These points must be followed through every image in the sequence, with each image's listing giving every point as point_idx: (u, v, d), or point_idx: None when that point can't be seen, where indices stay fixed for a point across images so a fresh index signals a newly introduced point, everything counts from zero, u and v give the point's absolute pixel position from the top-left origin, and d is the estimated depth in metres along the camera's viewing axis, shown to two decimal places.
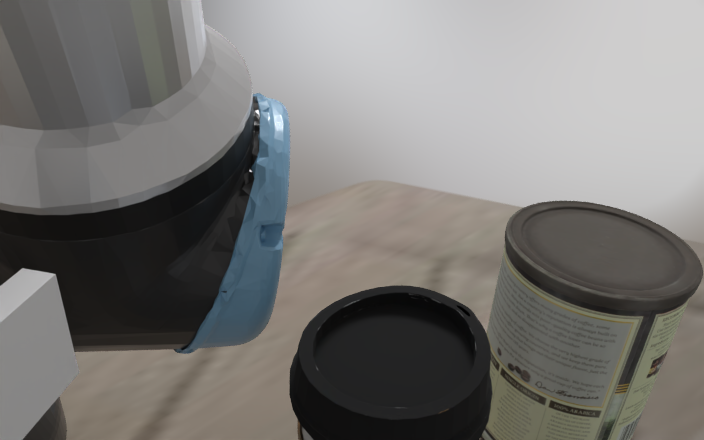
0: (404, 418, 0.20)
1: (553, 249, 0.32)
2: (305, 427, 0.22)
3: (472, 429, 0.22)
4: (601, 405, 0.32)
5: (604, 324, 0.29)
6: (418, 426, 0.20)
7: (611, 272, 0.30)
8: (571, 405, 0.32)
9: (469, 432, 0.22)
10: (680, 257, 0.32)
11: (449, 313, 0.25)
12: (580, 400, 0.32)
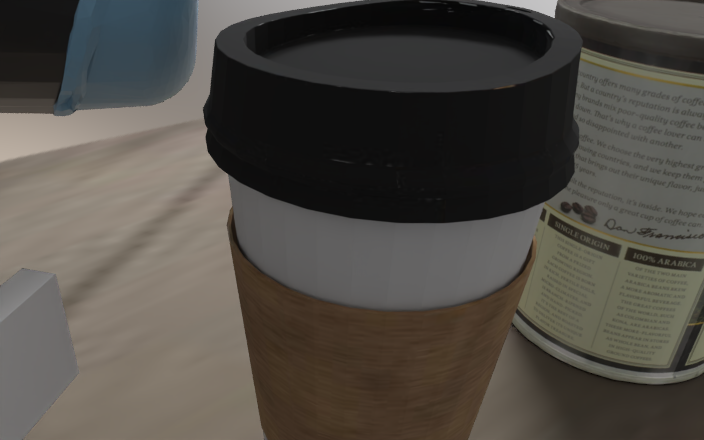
0: (423, 92, 0.09)
1: (632, 16, 0.21)
2: (226, 167, 0.11)
3: (554, 160, 0.11)
4: None
5: None
6: (452, 114, 0.10)
7: None
8: (660, 252, 0.21)
9: (549, 161, 0.11)
10: None
11: (492, 21, 0.15)
12: (674, 242, 0.21)
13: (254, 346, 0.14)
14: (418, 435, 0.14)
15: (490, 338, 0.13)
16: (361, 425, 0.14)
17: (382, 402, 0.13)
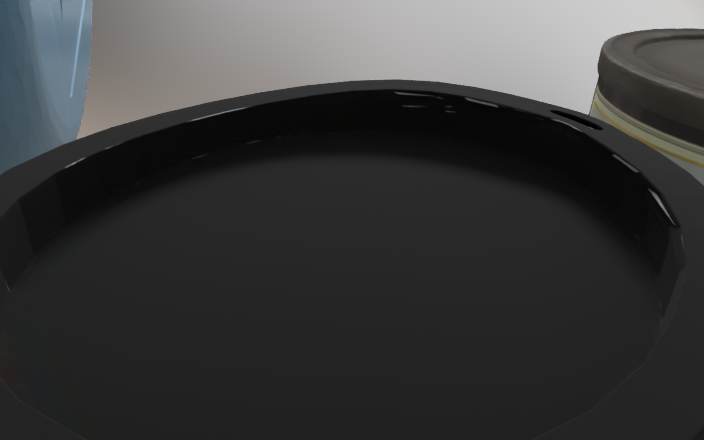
0: None
1: None
2: None
3: None
4: None
5: None
6: None
7: None
8: None
9: None
10: None
11: (525, 136, 0.08)
12: None
13: None
14: None
15: None
16: None
17: None
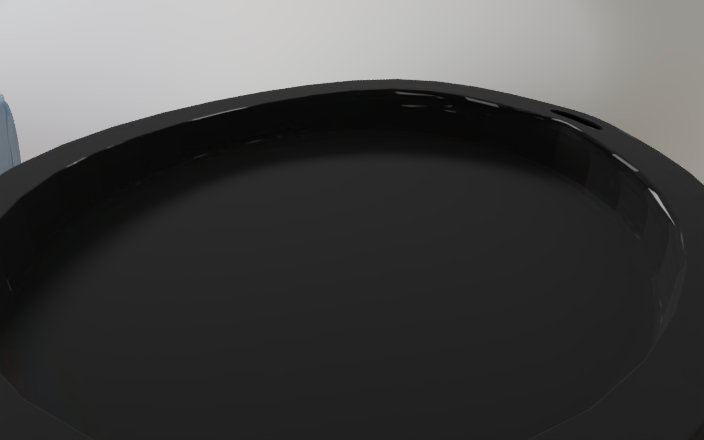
0: None
1: None
2: None
3: None
4: None
5: None
6: None
7: None
8: None
9: None
10: None
11: (526, 135, 0.08)
12: None
13: None
14: None
15: None
16: None
17: None
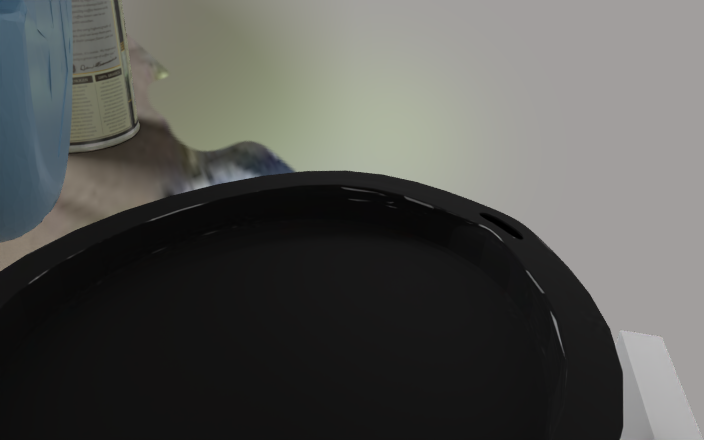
0: None
1: None
2: None
3: None
4: (119, 63, 0.49)
5: None
6: None
7: None
8: (106, 71, 0.47)
9: None
10: None
11: (457, 236, 0.09)
12: (109, 64, 0.47)
13: None
14: None
15: None
16: None
17: None
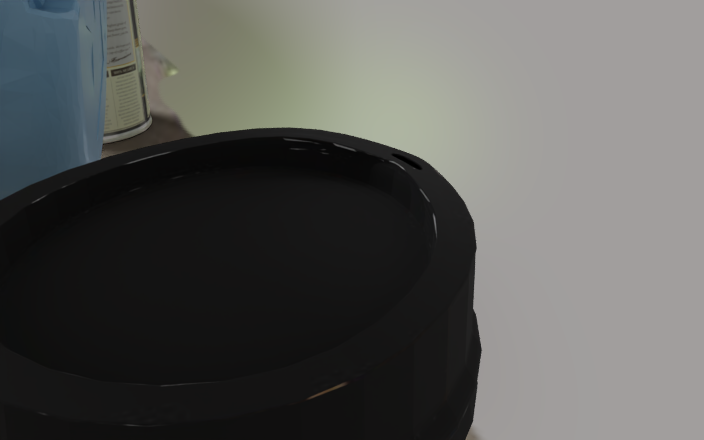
0: (183, 420, 0.06)
1: None
2: None
3: None
4: (134, 59, 0.51)
5: None
6: None
7: None
8: (122, 66, 0.49)
9: None
10: None
11: (375, 172, 0.11)
12: (124, 60, 0.49)
13: None
14: None
15: None
16: None
17: None
